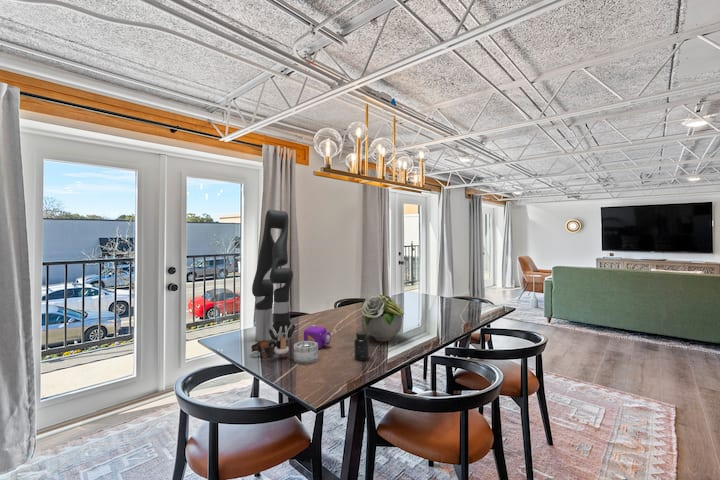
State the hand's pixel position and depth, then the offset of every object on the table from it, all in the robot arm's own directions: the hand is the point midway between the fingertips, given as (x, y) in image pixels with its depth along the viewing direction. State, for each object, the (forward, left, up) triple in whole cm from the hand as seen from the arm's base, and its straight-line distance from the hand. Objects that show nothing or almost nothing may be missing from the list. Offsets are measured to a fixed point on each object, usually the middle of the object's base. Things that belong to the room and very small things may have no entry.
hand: (281, 347), depth 160 cm
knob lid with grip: (0, 0, -2) cm, 2 cm away
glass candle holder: (+8, +8, -5) cm, 13 cm away
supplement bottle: (+23, +29, -5) cm, 38 cm away
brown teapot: (-10, -4, -6) cm, 12 cm away
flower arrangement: (+7, +56, -5) cm, 57 cm away
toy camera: (-5, +22, -5) cm, 23 cm away
